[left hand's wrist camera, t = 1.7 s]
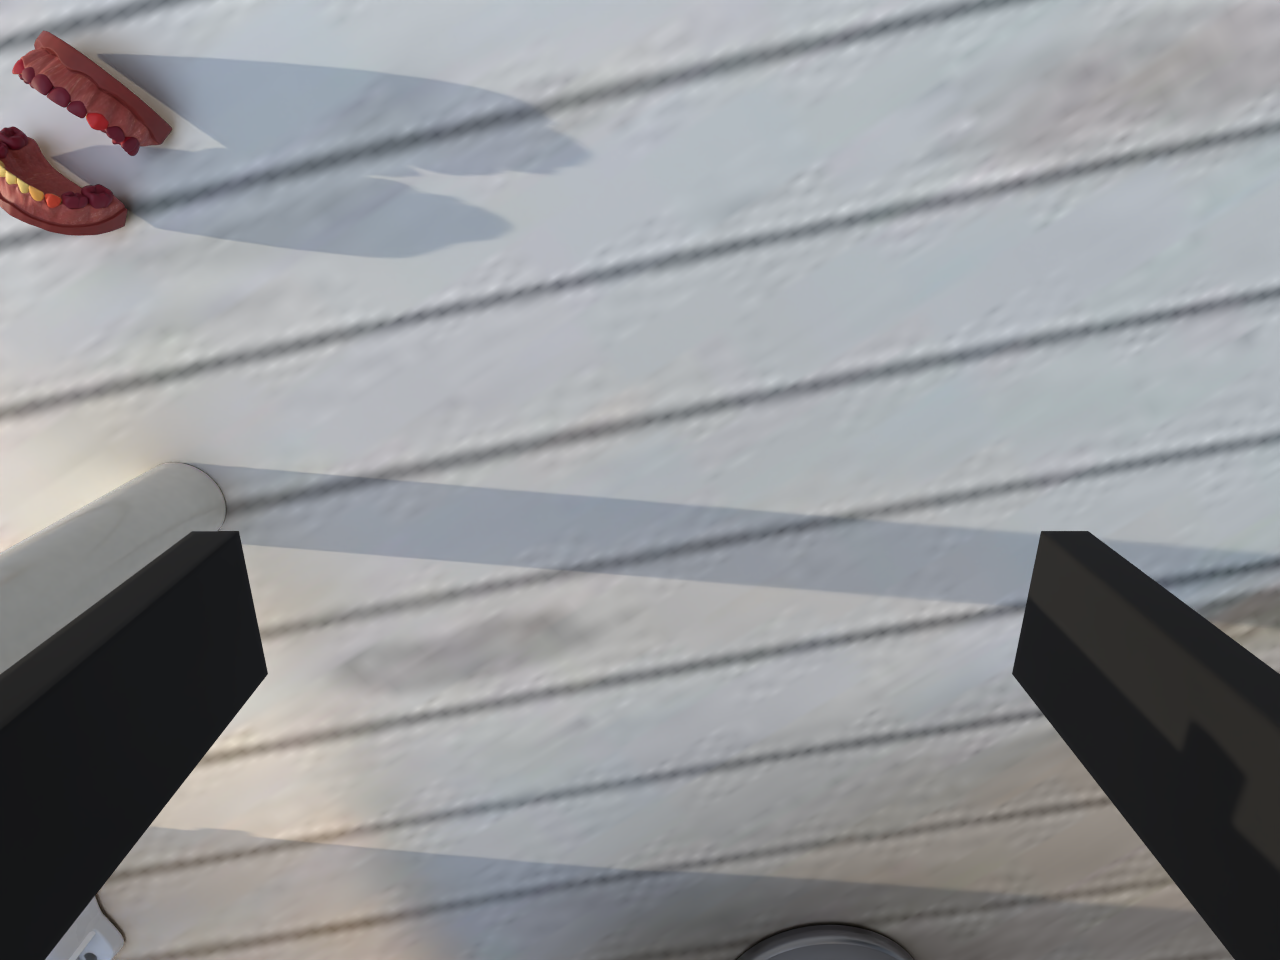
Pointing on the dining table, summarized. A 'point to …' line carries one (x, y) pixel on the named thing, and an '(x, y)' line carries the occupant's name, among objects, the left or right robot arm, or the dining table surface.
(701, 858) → the dining table surface
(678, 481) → the dining table surface
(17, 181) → the dental model
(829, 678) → the dining table surface
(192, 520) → the white cylinder
